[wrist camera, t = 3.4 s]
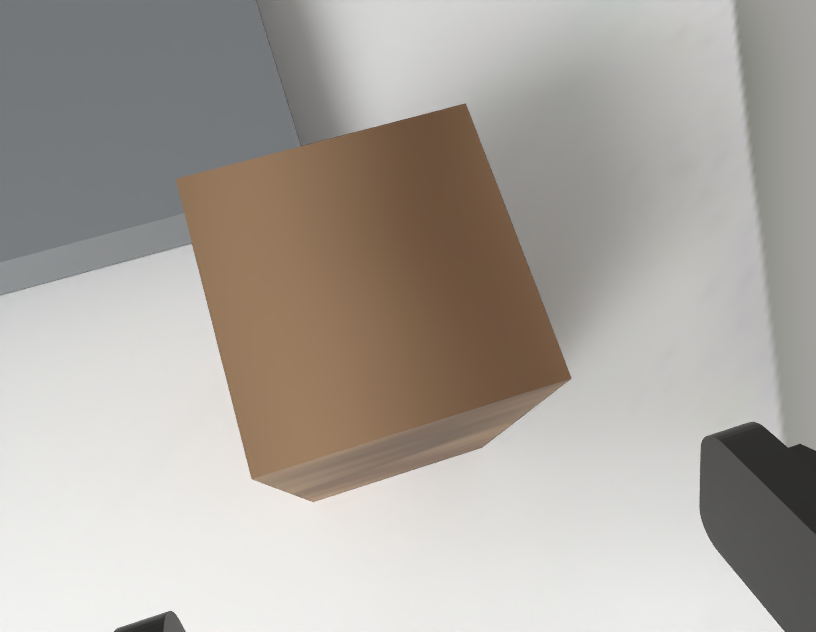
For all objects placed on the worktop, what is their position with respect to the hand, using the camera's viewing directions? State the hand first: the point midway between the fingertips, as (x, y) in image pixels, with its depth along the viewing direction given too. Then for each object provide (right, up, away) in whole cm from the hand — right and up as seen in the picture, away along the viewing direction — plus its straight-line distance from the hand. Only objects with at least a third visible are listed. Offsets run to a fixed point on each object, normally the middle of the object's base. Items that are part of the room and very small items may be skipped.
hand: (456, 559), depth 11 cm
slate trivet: (-11, +11, +13) cm, 20 cm away
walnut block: (-2, +1, +10) cm, 11 cm away
